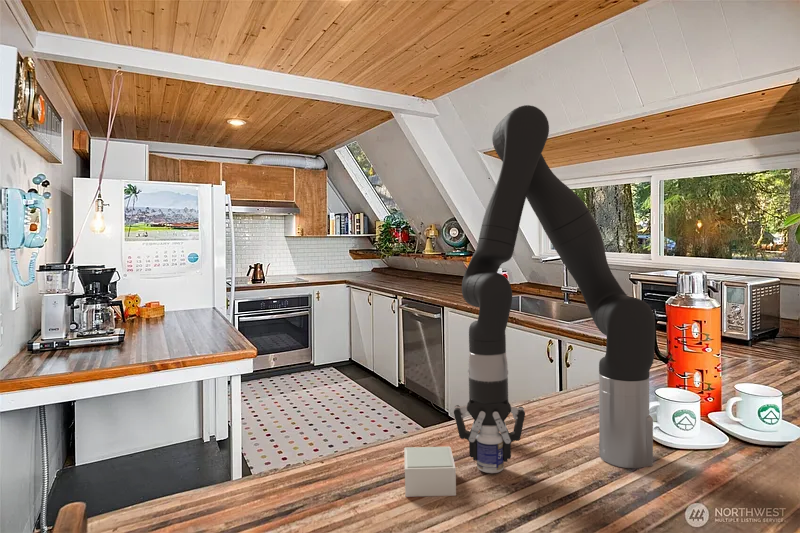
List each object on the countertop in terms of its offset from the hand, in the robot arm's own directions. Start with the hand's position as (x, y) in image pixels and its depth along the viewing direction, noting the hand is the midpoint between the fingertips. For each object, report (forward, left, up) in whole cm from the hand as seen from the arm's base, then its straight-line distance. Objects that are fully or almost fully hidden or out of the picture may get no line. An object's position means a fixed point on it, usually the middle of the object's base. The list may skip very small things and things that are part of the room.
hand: (490, 459), depth 95 cm
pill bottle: (0, 0, -2) cm, 2 cm away
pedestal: (+11, +7, -2) cm, 13 cm away
